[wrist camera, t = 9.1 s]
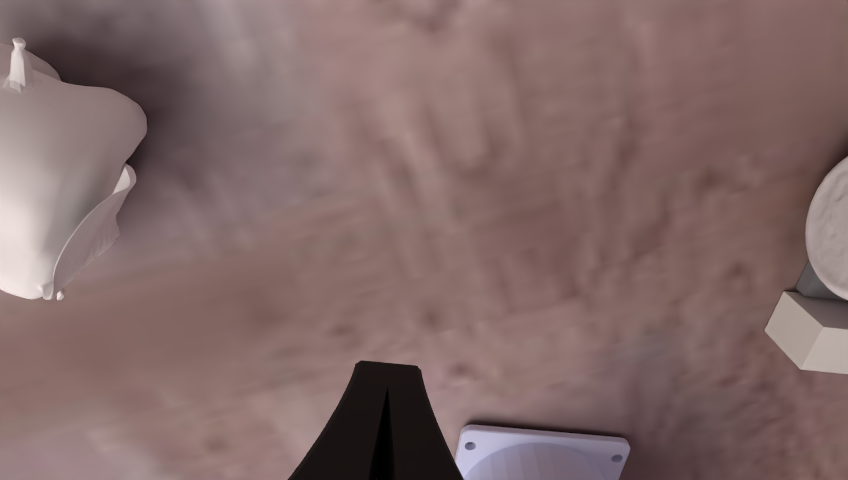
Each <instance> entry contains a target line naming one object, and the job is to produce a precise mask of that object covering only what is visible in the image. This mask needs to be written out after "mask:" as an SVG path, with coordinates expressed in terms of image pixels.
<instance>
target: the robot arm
mask: <svg viewBox="0 0 848 480" xmlns="http://www.w3.org/2000/svg"><path fill="white" fill-rule="evenodd" d="M468 442H473V443H471V444H468ZM629 452H630V446H629V444H628V442H627V440H626V439H624V438H620V437H609V436H597V435H586V434H575V433H563V432H552V431H541V430H529V429H518V428H506V427H495V426H484V425H467V426H465V427H464V428H462V430H461V433H460V438H459V443H458V447H457V452H456V457H455V461H454V459H453V457H452V455H451V453H450V450H449V448H448V446H447V444H446V442H445V439H444V437H443V435H442V432H441V430H440V428H439V425H438V423H437V421H436V418H435V416H434V413H433V410H432V407H431V405H430V402H429V399H428V396H427V393H426V389H425V386H424V382H423V378H422V373H421V370H420V369H419V368H418V367H417V366H414V365H403V364H393V363H382V362H371V361H360V362H358V363H357V364H355V368H354V371H353V374H352V377H351V379H350V382H349V384H348V386H347V388H346V390H345V392H344V394H343V396H342V398H341V400H340V402H339V404H338V406H337V407H336V409H335V411H334V412H333V414H332V416H331V418H330V419H329V421H328V423H327V424H326V426H325V428H324V429H323V431H322V432H321V434H320V436H319V437H318V438H317V440H316V441H315V443H314V444H313V446H312V447H311V449H310V450H309V452H308V453H307V454H306V456H305V457H304V459H303V460H302V462H301V463H300V464H299V466H298V467H297V468H296V470H295V471H294V472H293V474H292V475H291V476H290V477H289V479H288V480H619V477H620V475H621V472H622V470H623V467H624V465H625V462H626V460H627V457H628V455H629ZM614 455H616V456H614Z"/></svg>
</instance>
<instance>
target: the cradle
mask: <svg viewBox="0 0 848 480" xmlns="http://www.w3.org/2000/svg"><path fill="white" fill-rule="evenodd" d="M795 288H796V289H797V290H798V291H799V292H800V293H797V292H788V291H783V293H782V296H781V298H780V300H779V302H778V304H777V306H776V308H775V310H774V312H773V314H772V316H771V318H770V320H769V322H768V324H767V326H766V328H765V330H764V331H765V332H766V333H767V334H768V335H769V336H770V337H771V339H772V340H773V341H774V342H775V343H776V344H777V345H778V346H779V347H780V348H781V349H782V350H783V351H784V352H785V354H786V355H787V356H788V357H789V358H790V359H791V360H792V361H793V362H794V363H795V364H796V365H797V366H798V367H799V369H801V370H811V371H822V372H832V373H842V374H848V300H846V299H844V298H841V297H840V296H838V295H836V294H835V293H833V292H832V291H831V290H830V289H828V288H827V287H826V285H825V284H824V283H823V282H822V281H821V280H820V279H819V278H818V276H817V274H816V272H815V271H814V269H813V267H812V265H811V263H810V260H809V261H808V263H807V265H806V267H805V269H804V271H803V273H802V275H801V277H800V279H799V281H798V283H797V285H796V287H795Z"/></svg>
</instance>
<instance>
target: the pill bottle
mask: <svg viewBox="0 0 848 480" xmlns="http://www.w3.org/2000/svg"><path fill="white" fill-rule="evenodd" d="M805 236H806V248H807V253H808V257H809V260H810V263H811V265H812V267H813V269H814V271H815V272H816V274H817V276H818V278H819V279H820V280H821V281H822V282H823V283H824V284H825V285H826V287H827V288H828V289H830V290H831V291H832V292H833V293H835V294H836V295H838V296H840V297H841V298H844V299H846V300H848V156H847V157H846V158H845V159H843V160H842V161H841V162H839V163H838V164H837V165H836V166H835V167H834V168H833V169H832V170H831V171H830V172H829V173H828V174H827V175H826V176H825V178H824V179H823V181H822V182H821V184H820V185H819V187H818V189H817V191H816V193H815V195H814V197H813V199H812V202H811V204H810V207H809V211H808V216H807V220H806V230H805Z"/></svg>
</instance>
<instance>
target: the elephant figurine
mask: <svg viewBox="0 0 848 480" xmlns="http://www.w3.org/2000/svg"><path fill="white" fill-rule="evenodd" d="M12 40H13V43H14V46H12V45H8V44H4V43H0V289H1V290H3V291H5V292H8V293H10V294H13V295H17V296H20V297H23V298H27V299H36V298H39V297H42V296H43V298H44V299H45V300H49V299H52V298H53V297H55V296H56V295H57V300H62V299H63V297H64V292H65V289H64V288H63V287H64V286H65V285H66V284H67V283H68V282H70V281H71V280H72V279H74V278H75V277H76V275H77V274H78V273H79V272H80V271H81V270H83V269H84V268H85V267H86V266H87V265H88V264H89V263H90V262H92V261H93V260H94V259H95V258H97V257H98V256H99V255H100V254H102V253H103V252H104V251H106V250H107V249H108V248H109V247H110V246H112V245H113V243H114V242H115V241H116V239H117V238H118V237H119V228H118V225H117V221H116V214H117V213H118V212H119V210H120V208H121V206H122V204H123V202H124V200H125V198H126V196H127V194H128V192H129V191H130V190H131V189H132V187H133V186H134V185H135V183H136V174H135V171H134V170H133V168H132V167H131V166H129V165H128V164H126V163H125V162H126V160H127V159H128V158H129V157H130V156H131V155H132V154H133V152H134V151H135V149H136V148H137V146H138V145H139V143H140V142H141V140H142V139H143V138H144V137H145V135H146V133H147V118H146V115H145V113H144V112H143V110H142V108H141V107H140V105H139V104H137V103H136V102H134V101H133V100H131V99H130V98H128V97H127V96H125V95H123V94H121V93H119V92H117V91H115V90H113V89H109V88H103V87H90V86H80V85H74V84H68V83H65V82H62V81H61V79H60V77H59V75H58V73H57V72H56V70H55V69H54V68H52V67H51V65H49V64H48V63H47V62H45V61H44V60H42V59H40V58H38V57H37V56H35V55H33V54H32V53H30V52H28V51H26V50H25V46H26V42H25V41H24V40H23V39H22V38H14V39H12Z"/></svg>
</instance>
